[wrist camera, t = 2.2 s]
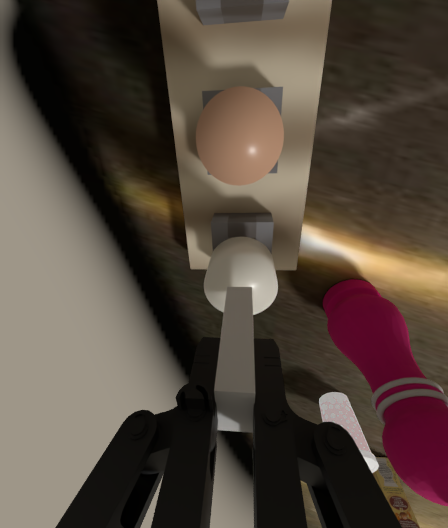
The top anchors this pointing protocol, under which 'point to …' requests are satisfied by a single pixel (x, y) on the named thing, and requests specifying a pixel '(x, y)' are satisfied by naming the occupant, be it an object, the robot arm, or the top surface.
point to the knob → (241, 272)
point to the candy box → (394, 493)
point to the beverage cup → (346, 422)
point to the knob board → (254, 76)
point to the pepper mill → (394, 385)
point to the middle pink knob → (239, 135)
